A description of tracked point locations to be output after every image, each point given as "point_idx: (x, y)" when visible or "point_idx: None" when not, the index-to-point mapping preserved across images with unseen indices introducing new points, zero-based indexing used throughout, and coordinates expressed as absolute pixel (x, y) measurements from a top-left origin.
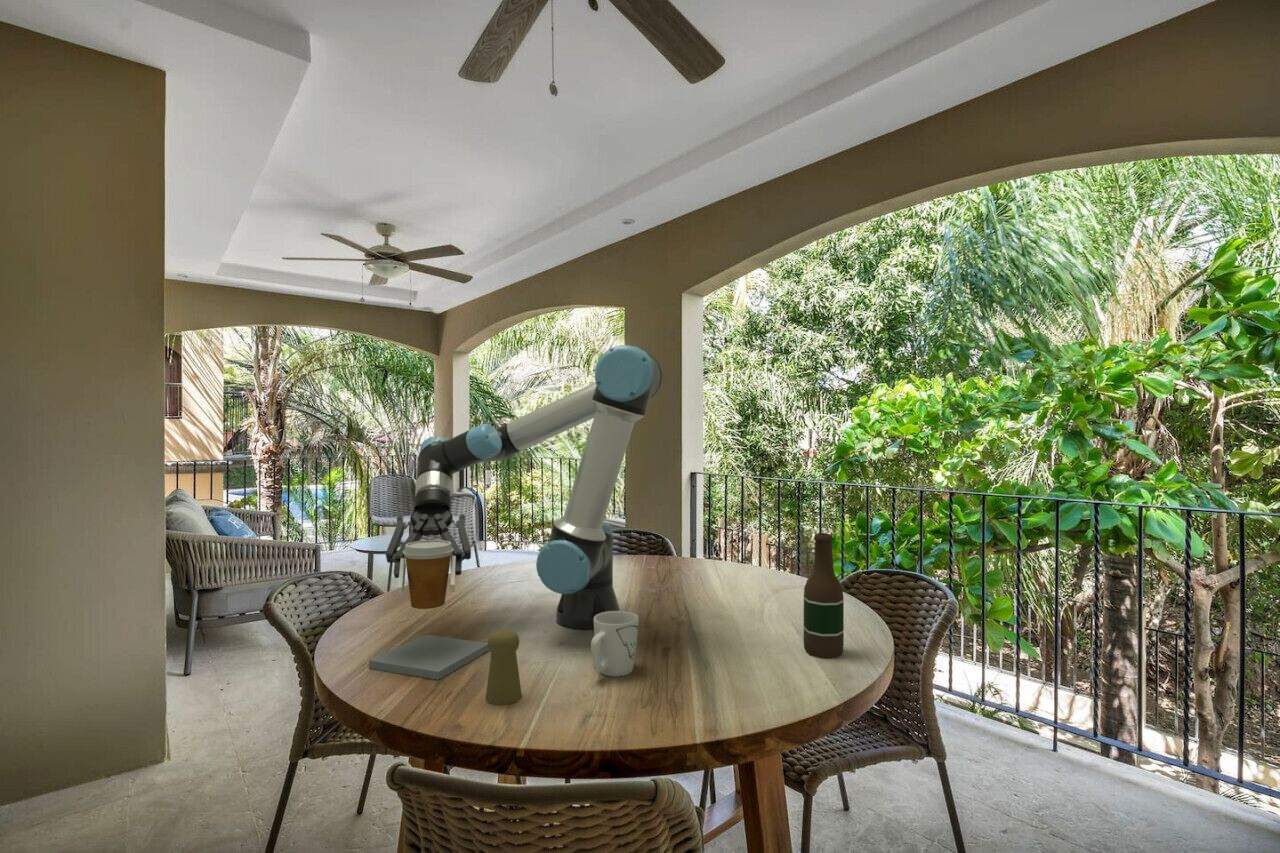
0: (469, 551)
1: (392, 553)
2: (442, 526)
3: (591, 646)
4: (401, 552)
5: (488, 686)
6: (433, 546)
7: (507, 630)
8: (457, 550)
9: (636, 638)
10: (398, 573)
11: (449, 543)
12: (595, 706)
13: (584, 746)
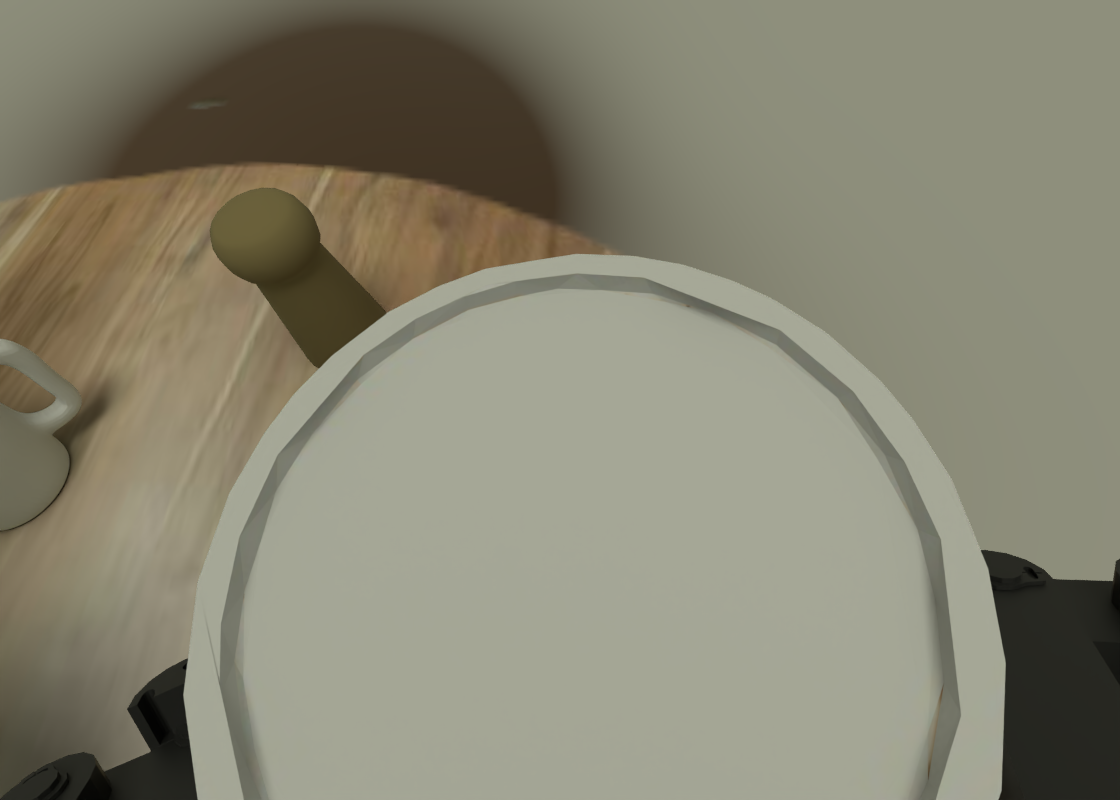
0: (36, 773)
1: None
2: None
3: (25, 351)
4: (1007, 624)
5: (367, 294)
6: (475, 492)
7: (231, 227)
8: (184, 772)
9: None
10: None
11: (219, 589)
12: (163, 291)
13: (233, 171)
